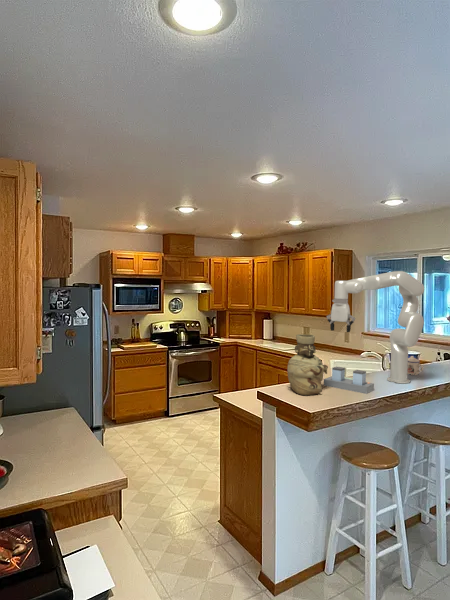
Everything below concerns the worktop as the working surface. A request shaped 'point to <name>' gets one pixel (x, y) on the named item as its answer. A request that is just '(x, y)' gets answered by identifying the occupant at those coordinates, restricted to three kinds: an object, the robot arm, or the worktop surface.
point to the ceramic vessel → (306, 367)
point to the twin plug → (359, 377)
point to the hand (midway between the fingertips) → (340, 331)
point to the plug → (338, 373)
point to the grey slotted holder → (349, 385)
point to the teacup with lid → (413, 366)
